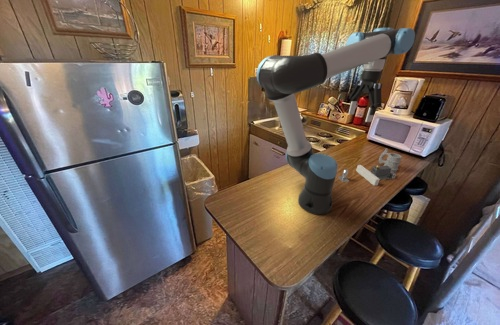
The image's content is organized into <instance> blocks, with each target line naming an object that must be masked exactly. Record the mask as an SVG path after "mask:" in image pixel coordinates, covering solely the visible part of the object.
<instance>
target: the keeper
mask: <svg viewBox="0 0 500 325" xmlns="http://www.w3.org/2000/svg"><path fill="white" fill-rule="evenodd" d="M367 170H368V171H370V172H371V170H369V169H367ZM371 173H372V172H371ZM372 174H373V175H375V174H374V173H372ZM375 176H376V175H375ZM396 176H397V173H396V172H392V171H390V174H389V176H388V178H379V179H380V180H379V181H381V180H382V181H383V180H395V179H396Z"/></svg>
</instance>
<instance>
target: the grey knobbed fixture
mask: <svg viewBox="0 0 500 325" xmlns="http://www.w3.org/2000/svg"><path fill="white" fill-rule="evenodd" d="M348 173H349V169H347V168H344V169H343V171H342V175H340V176H337V177H338V179H339V180H340V181H341V182H343V183H347V182H350V180H349V179H348V178H347V177H348Z"/></svg>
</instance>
